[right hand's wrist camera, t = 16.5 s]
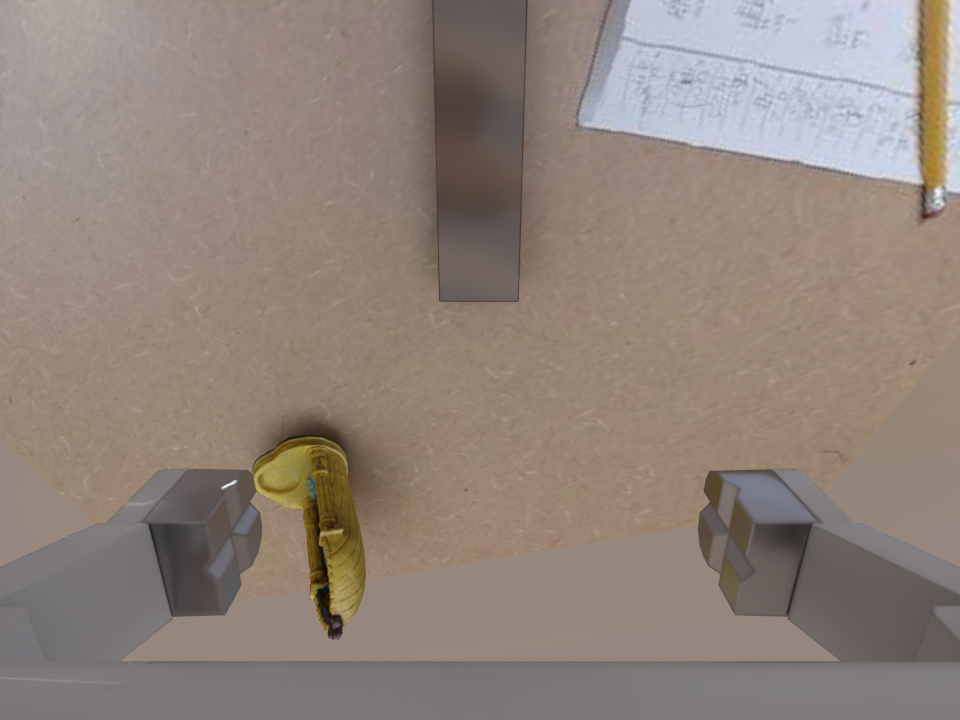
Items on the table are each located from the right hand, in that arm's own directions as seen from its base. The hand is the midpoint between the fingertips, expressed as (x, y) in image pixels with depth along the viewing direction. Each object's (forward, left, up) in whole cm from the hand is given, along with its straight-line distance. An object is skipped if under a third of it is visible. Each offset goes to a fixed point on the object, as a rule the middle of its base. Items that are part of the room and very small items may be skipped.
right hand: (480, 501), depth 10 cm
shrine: (-24, -7, -34) cm, 42 cm away
